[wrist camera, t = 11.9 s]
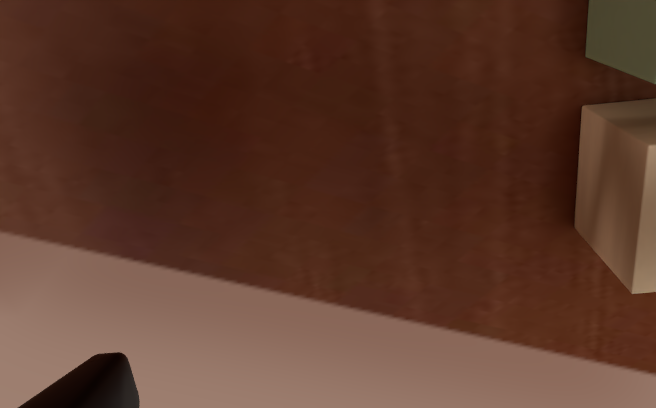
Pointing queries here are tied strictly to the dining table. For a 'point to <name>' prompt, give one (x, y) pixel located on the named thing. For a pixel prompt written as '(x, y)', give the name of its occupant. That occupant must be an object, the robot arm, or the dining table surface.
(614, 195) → the beech block
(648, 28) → the green block
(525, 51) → the dining table surface
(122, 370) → the robot arm
